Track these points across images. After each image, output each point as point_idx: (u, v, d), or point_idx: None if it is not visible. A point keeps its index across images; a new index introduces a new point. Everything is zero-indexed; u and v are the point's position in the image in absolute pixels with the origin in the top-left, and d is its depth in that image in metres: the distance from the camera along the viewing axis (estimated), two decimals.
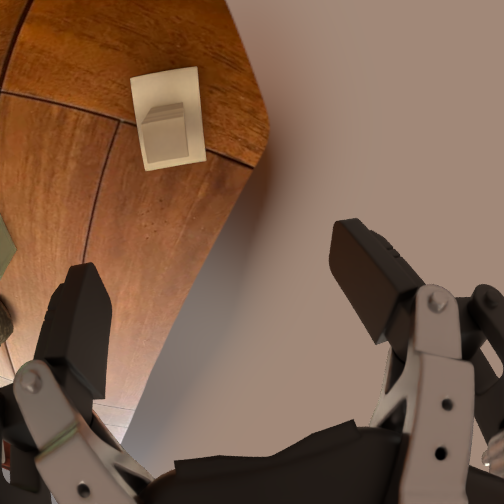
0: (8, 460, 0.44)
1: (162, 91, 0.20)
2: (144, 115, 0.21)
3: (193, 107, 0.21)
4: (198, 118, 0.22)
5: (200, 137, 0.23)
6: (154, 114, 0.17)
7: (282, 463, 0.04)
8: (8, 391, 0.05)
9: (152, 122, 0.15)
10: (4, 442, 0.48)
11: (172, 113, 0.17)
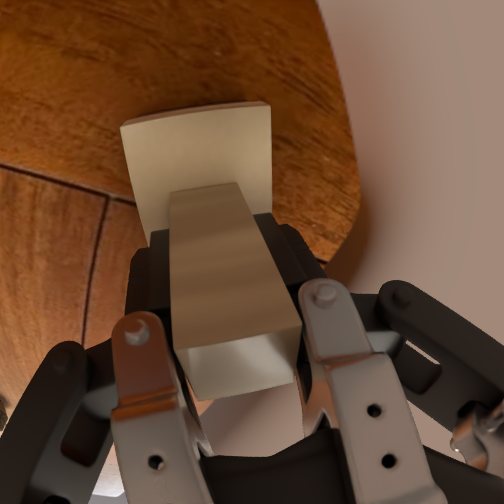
0: None
1: (193, 157, 0.10)
2: (156, 207, 0.11)
3: (258, 191, 0.12)
4: (266, 212, 0.12)
5: None
6: (192, 256, 0.08)
7: (282, 463, 0.04)
8: (96, 352, 0.06)
9: (209, 343, 0.05)
10: None
11: (248, 273, 0.07)
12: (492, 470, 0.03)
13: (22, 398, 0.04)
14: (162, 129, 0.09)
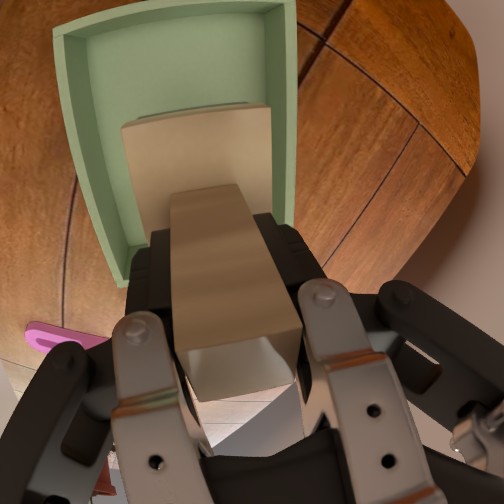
0: None
1: (194, 159, 0.10)
2: (157, 208, 0.11)
3: (258, 192, 0.12)
4: None
5: None
6: (193, 258, 0.08)
7: (282, 463, 0.04)
8: (97, 352, 0.06)
9: (210, 345, 0.05)
10: None
11: (249, 275, 0.07)
12: (492, 470, 0.03)
13: (22, 398, 0.04)
14: (162, 131, 0.09)
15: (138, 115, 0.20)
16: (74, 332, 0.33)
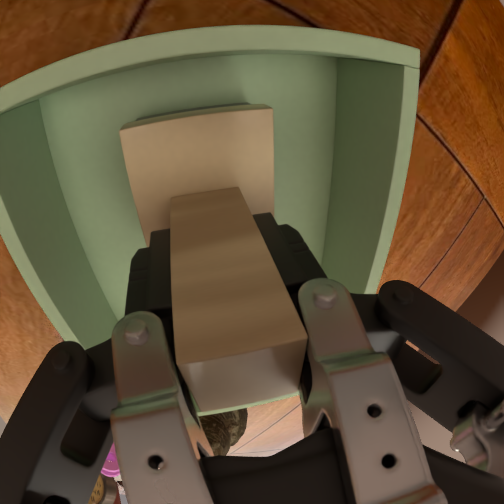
0: None
1: (194, 162, 0.10)
2: (156, 212, 0.11)
3: (259, 195, 0.11)
4: None
5: None
6: (193, 265, 0.07)
7: (282, 463, 0.04)
8: (96, 352, 0.06)
9: (212, 357, 0.05)
10: None
11: (252, 283, 0.07)
12: (492, 470, 0.03)
13: (22, 398, 0.04)
14: (162, 133, 0.09)
15: (139, 225, 0.14)
16: None
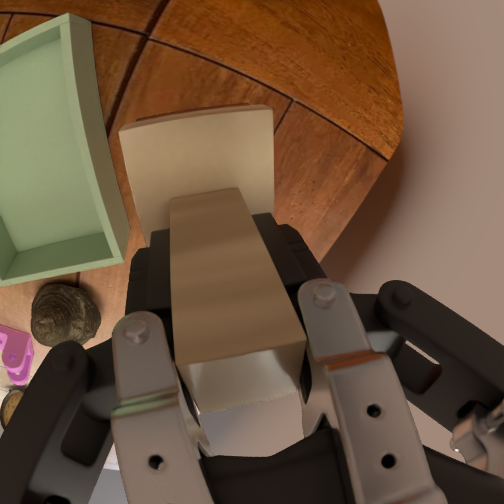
0: None
1: (194, 163, 0.10)
2: (156, 213, 0.11)
3: (259, 196, 0.11)
4: None
5: None
6: (193, 266, 0.07)
7: (282, 463, 0.04)
8: (96, 352, 0.06)
9: (212, 359, 0.05)
10: None
11: (251, 285, 0.07)
12: (492, 470, 0.03)
13: (22, 398, 0.04)
14: (162, 134, 0.09)
15: (2, 144, 0.18)
16: (3, 327, 0.31)
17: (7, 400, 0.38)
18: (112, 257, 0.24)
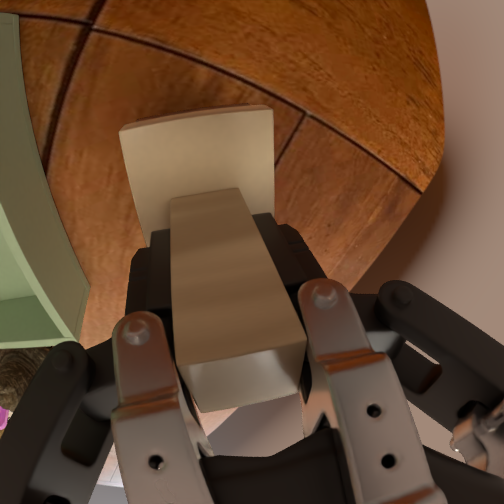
0: None
1: (194, 163, 0.10)
2: (156, 213, 0.11)
3: (260, 196, 0.11)
4: None
5: None
6: (193, 266, 0.07)
7: (282, 463, 0.04)
8: (97, 352, 0.06)
9: (212, 359, 0.05)
10: None
11: (251, 285, 0.07)
12: (492, 470, 0.03)
13: (22, 398, 0.04)
14: (162, 134, 0.09)
15: None
16: None
17: None
18: (63, 337, 0.16)
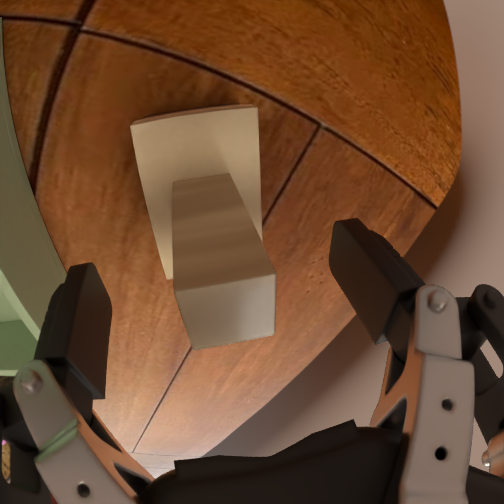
0: None
1: (192, 152, 0.12)
2: (160, 195, 0.13)
3: (248, 181, 0.13)
4: (255, 200, 0.14)
5: (257, 230, 0.15)
6: (190, 227, 0.09)
7: (282, 463, 0.04)
8: (8, 391, 0.05)
9: (202, 287, 0.07)
10: None
11: (235, 238, 0.09)
12: None
13: None
14: (166, 128, 0.11)
15: None
16: None
17: None
18: None
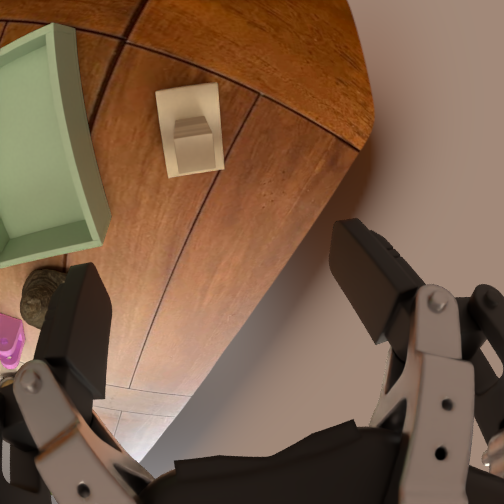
0: None
1: (185, 105, 0.23)
2: (168, 126, 0.23)
3: (214, 120, 0.24)
4: (218, 130, 0.25)
5: (219, 148, 0.26)
6: (182, 128, 0.20)
7: (282, 463, 0.04)
8: (8, 391, 0.05)
9: (184, 137, 0.18)
10: None
11: (200, 128, 0.19)
12: None
13: None
14: (173, 93, 0.22)
15: None
16: None
17: (0, 387, 0.40)
18: (92, 240, 0.25)
